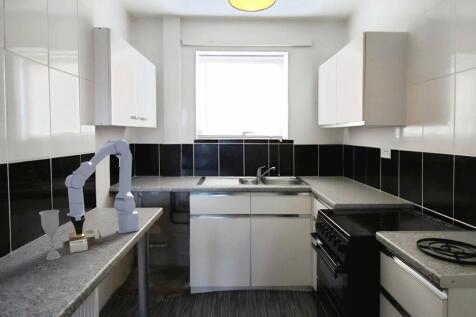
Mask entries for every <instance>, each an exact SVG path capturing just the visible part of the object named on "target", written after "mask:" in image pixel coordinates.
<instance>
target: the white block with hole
mask: <svg viewBox="0 0 476 317" xmlns="http://www.w3.org/2000/svg"><path fill="white" fill-rule="evenodd" d="M88 247H89V245H87V239H82V240H76V241H70V242H69V252H70V253H76V252H77V253H78V252H83V251H87V250H88V249H89V248H88Z"/></svg>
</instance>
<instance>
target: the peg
mask: <svg viewBox="0 0 476 317" xmlns="http://www.w3.org/2000/svg"><path fill="white" fill-rule="evenodd" d="M83 231H84V230H83ZM83 231H82V234H81V235H77V234H76V232H75V231H74V232H75V235H74V236H73V237H74V238H82V237H85V234H84V233H83Z"/></svg>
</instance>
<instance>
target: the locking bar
mask: <svg viewBox="0 0 476 317" xmlns="http://www.w3.org/2000/svg"><path fill="white" fill-rule="evenodd" d="M97 229H98V228H97V227H96V228H95V227H94V228H92V230H93V233H92V234H86V235H85V238H87V237H95V239H98V238H99V234H98V231H97Z"/></svg>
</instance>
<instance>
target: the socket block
mask: <svg viewBox="0 0 476 317" xmlns="http://www.w3.org/2000/svg"><path fill="white" fill-rule="evenodd" d="M97 231H98V234H99V238H98V239H95V237H87V238H85V237H82V238H74V237H73V236H74V235H75V231H74V232H70V233H68V241H69V243H70V241H76V240H82V239H87V245H88V246H89V245H95V244H100V243H102V234H101V232H100V229H99V228H97ZM83 233H84V234H85V235H86V234H92V233H93V229H89V230H83Z"/></svg>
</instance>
